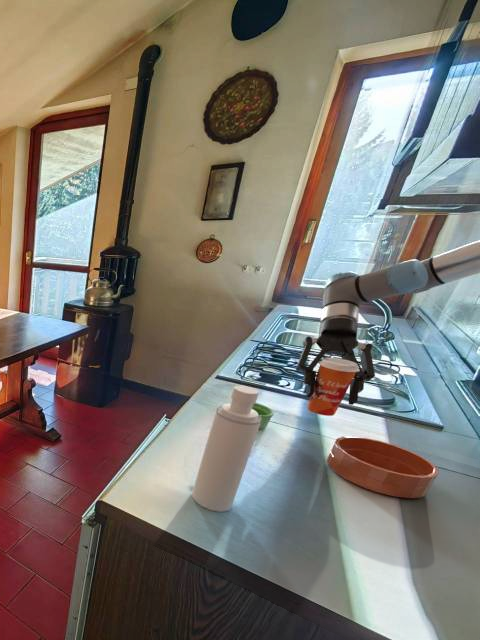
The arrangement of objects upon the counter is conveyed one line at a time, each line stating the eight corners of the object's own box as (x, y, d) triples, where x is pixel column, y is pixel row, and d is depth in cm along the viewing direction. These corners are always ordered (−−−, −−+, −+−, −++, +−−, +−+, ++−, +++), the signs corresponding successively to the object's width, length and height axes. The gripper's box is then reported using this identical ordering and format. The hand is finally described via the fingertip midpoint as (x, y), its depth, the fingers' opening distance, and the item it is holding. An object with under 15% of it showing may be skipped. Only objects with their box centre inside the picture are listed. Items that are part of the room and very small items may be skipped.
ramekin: (261, 434, 99) (266, 419, 97) (223, 420, 106) (227, 405, 104) (274, 424, 104) (279, 409, 102) (237, 412, 111) (241, 398, 109)
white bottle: (235, 500, 75) (277, 381, 65) (225, 517, 71) (268, 392, 61) (197, 484, 79) (231, 370, 70) (186, 499, 75) (220, 380, 65)
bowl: (425, 479, 82) (438, 457, 80) (423, 511, 73) (438, 487, 71) (332, 449, 93) (341, 429, 91) (320, 474, 83) (329, 452, 81)
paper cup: (299, 410, 104) (317, 360, 99) (306, 402, 109) (324, 355, 103) (337, 420, 99) (359, 369, 93) (343, 412, 103) (364, 362, 98)
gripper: (382, 336, 104) (377, 413, 97) (286, 326, 114) (276, 395, 107) (398, 321, 98) (394, 402, 91) (295, 311, 108) (285, 384, 101)
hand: (331, 398), depth 99 cm, fingers closed on paper cup, 8 cm apart
